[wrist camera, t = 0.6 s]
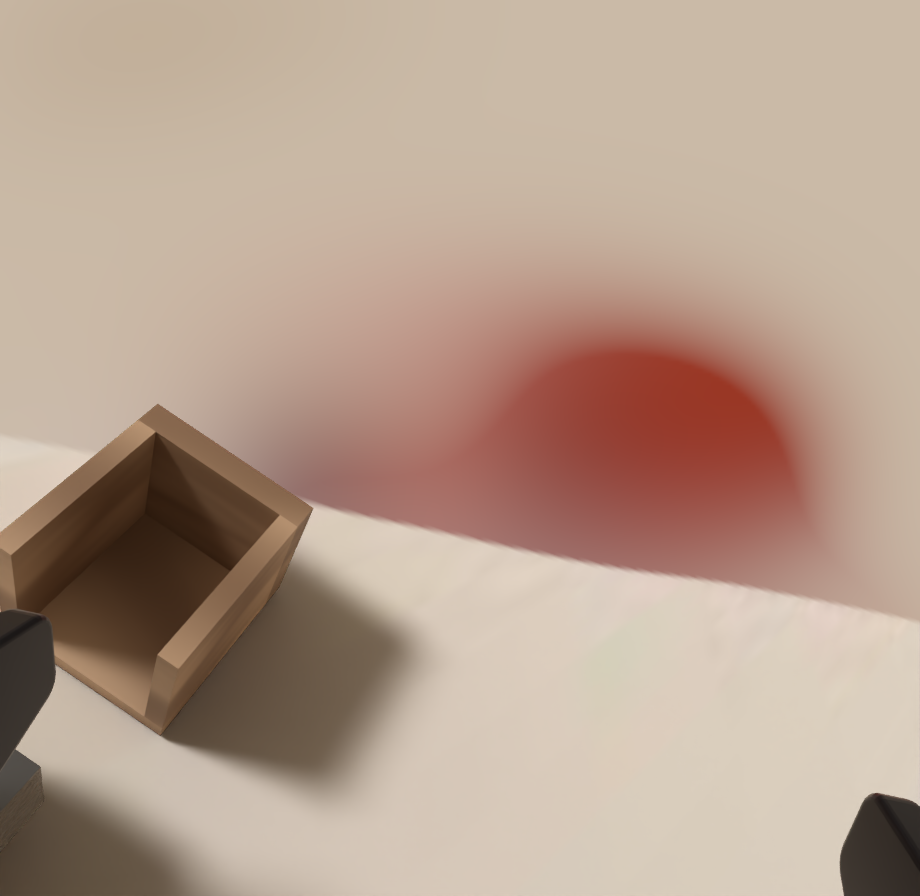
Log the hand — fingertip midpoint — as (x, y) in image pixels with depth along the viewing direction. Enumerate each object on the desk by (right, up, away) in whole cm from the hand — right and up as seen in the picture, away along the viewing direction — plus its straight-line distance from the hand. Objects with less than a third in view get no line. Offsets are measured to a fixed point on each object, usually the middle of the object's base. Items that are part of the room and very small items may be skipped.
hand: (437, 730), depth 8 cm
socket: (-9, -2, +15) cm, 18 cm away
